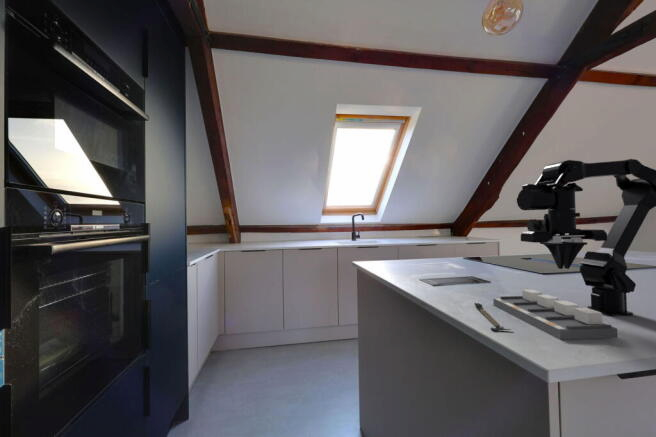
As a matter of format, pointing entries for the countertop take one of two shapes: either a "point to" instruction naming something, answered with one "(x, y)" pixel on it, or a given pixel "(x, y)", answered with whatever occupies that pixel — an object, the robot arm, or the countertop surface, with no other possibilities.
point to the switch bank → (553, 320)
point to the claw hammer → (491, 320)
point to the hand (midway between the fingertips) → (563, 268)
